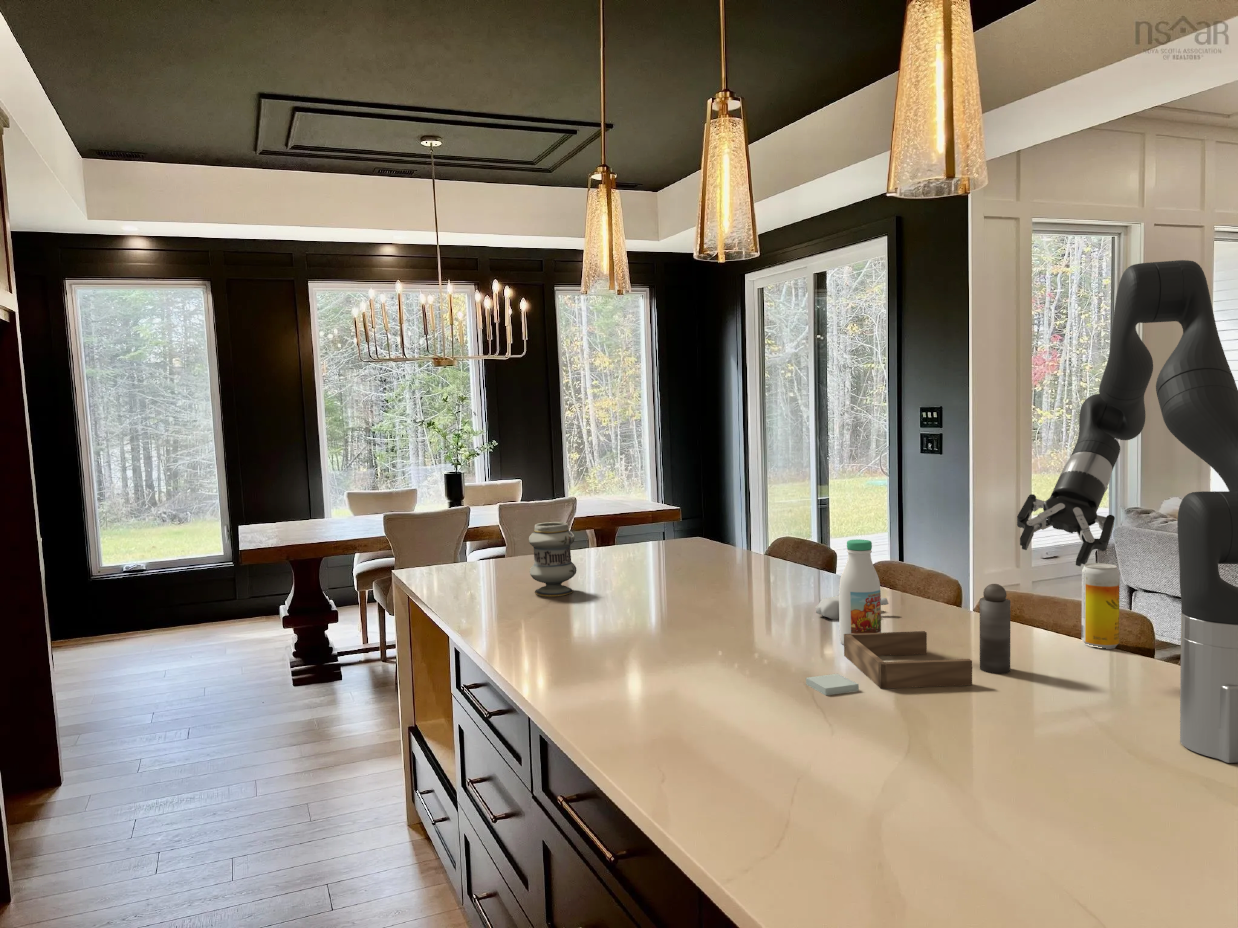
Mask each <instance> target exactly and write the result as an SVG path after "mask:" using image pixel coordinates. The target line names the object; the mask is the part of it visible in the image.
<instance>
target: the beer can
mask: <svg viewBox="0 0 1238 928" xmlns="http://www.w3.org/2000/svg"><path fill="white" fill-rule="evenodd" d="M1083 565H1084V564H1083ZM1120 575H1121V574H1120V571H1119V569H1118V566H1117V565H1115V564H1110V563H1101V562H1100V563H1098V562H1090V563H1088V562H1087V563H1086V564H1085V565H1084V566H1083V568H1082V569H1081V641H1082V642H1083V643H1084V645H1085V644H1089V645H1093V646H1098V647H1102V648H1106V649H1105V650H1112V649H1115V648H1116V647H1117V646H1118V645H1119V644H1120V583H1121V582H1120Z"/></svg>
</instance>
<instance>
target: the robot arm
mask: <svg viewBox="0 0 1238 928" xmlns="http://www.w3.org/2000/svg"><path fill="white" fill-rule="evenodd" d="M1114 303H1115V305H1114V310H1113V320H1112V325H1111V335H1110V347H1109V352H1108V353H1109V354H1108V358H1107V362H1106V365H1105V369H1104V371H1103V375H1102V377H1101V381H1100V383H1099V388H1098V393H1095V394H1092V395H1090V396H1088V397H1087V398H1086V399H1084V401H1083V403H1082V404H1081V406H1080V409H1079V417H1078V419H1079V420H1078V421H1079V422H1078V425H1079V428H1078V436H1077V441H1076V443H1075V445H1074V447H1073V450H1072V451H1071V454H1070V457H1069V458H1068V460H1067V462H1065V464H1064V466H1063V468H1062V471H1061V473H1060V475H1059V477H1058V480H1057V481H1056V483H1055V486H1054V488H1053V490H1052V491H1051V495H1050V496H1049V498H1048V499H1046V500H1042V499H1039V498H1037V496H1036V495H1035V494H1033V493H1031V494H1029V495H1028V496H1027V498H1026V500H1025V502H1024V504H1023V506H1022V507H1021V508H1020V511H1019V512H1018V514H1017V516H1016V525H1017V526H1016V527H1018V528H1022V529H1023V531H1022V533H1021V534H1020V537H1019V545H1020V546H1021V549H1022V550H1025V551H1027V550H1028V548H1029V546H1030V543H1031V541H1032V539H1033V537H1034V533H1037V532H1038V531H1040V530H1042V531H1044V530H1046V529H1048V528H1050V527H1052V528H1053V529H1055V530H1059V531H1060V530H1061V531H1063V532H1064V531H1065V532H1066V533H1070V534H1074V533H1076V534H1077V536H1078V537H1079V539H1080V541H1081V542H1082V544H1081V547H1080V549H1079V552H1078V554H1077V556H1076V559H1075V566H1077V567H1081V566H1082V565H1085V564H1088V561H1089V559H1090V556H1091V554H1092V551H1094V550H1099V551H1101V552H1105V551H1107V549H1108V545H1109V543H1110V540H1111V536H1112V533H1113V530H1114V526H1115V520H1116V518H1115V516H1114V515H1113V514H1108V515H1106V516H1103V515H1099V514H1098V513H1097V511H1098V509H1099V508H1100V505H1101V502H1102V500H1103V498H1104V495H1105V494H1106V492H1107V489H1108V488H1109V483H1110V480H1111V476H1112V473H1113V470H1114V468H1115V465H1116V462H1117V461H1118V458H1119V455H1120V453H1121V446H1120V443H1119V441H1118V440H1120V441H1131V440H1133V439H1135V438H1137V437H1138V436H1139V435H1140V434H1141V433H1142V431H1143V429H1144V426H1145V424H1146V406H1145V394H1146V391H1147V388H1148V386H1149V383H1150V381H1151V378H1152V375H1153V372H1154V361H1153V360H1154V359H1153V357H1152V354H1151V352H1150V350H1149V349H1148V347H1147V346H1146V345H1145V343H1144V341H1143V340H1142V339H1141V337H1140V335H1139V333H1138V331H1137V325H1138V324H1139V323H1140V324H1149V323H1150V324H1152V323H1168V322H1169V323H1170V322H1177V323H1179V324H1180V325H1181V329H1182V335H1181V337H1180V340H1179V341H1178V343H1177V345H1176V347H1175V348H1174V349H1173V351H1172V353H1171V354H1170V355H1169V357H1168V358H1167V360H1166V361H1165V362H1164V364H1163V366H1162V368H1161V370H1160V371H1159V373H1158V375H1157V378H1156V382H1155V391H1156V396H1157V400H1158V404H1159V408H1160V409H1159V410H1160V412H1161V416H1162V419H1163V422H1164V424H1165V427H1166V428H1167V429H1168V430H1169V433H1171V435H1173V436H1174V437H1175V438H1176V439H1177V441H1179V442H1180V443H1181V444H1182V445H1183V446H1184V447H1186V448H1187V449H1188V450H1190V451H1191V452H1192V453H1193V454H1194V455H1196V456H1197V457H1199V458H1200V459H1202V460H1203V462H1205V463H1206V465H1208V466H1209V467H1211V468H1212V470H1214V471H1215V473H1216V474H1218V476H1219V477H1220V478H1221V479H1222V481H1223V483H1224V484H1225V486H1226V488H1227V489H1228V491H1223V490H1221V491H1213V490H1212V491H1209V490H1208V491H1191V492H1189V493H1187V494H1186V495H1184V497H1183V498H1182V499H1181V502H1180V504H1179V507H1178V510H1177V511H1178V512H1177V521H1176V522H1177V543H1178V558H1179V560H1178V563H1179V565H1178V566H1179V589H1180V590H1179V592H1180V599H1181V600H1180V601H1181V605H1180V606H1181V607H1180V608H1181V609H1180V610H1181V612H1180V613H1181V614H1180V627H1181V628H1180V669H1179V670H1180V683H1179V685H1180V687H1179V688H1180V689H1179V691H1180V692H1179V695H1180V696H1179V715H1180V716H1179V742H1180V743H1181V745H1182V746H1183V747H1185V748H1186V749H1188V750H1189V751H1192V752H1193V753H1197V754H1199V755H1202V756H1206V757H1209V758H1213V759H1217V760H1220V761H1223V762H1224V763H1229V764H1230V763H1231V764H1233V763H1238V586H1235V585H1234V584H1232V583H1229V582H1228V581H1225V580H1224V579H1223V578H1222V577H1221V575H1220V570H1219V565H1238V387H1237V383H1236V380H1235V377H1234V375H1233V372H1232V370H1231V368H1230V365H1229V362H1228V360H1227V357H1226V354H1225V351H1224V347H1223V345H1222V341H1221V339H1220V336H1219V332H1218V331H1219V330H1218V328H1217V324H1216V320H1215V314H1214V310H1213V309H1214V308H1213V303H1212V298H1211V295H1210V289H1209V285H1208V281H1207V277H1206V275H1205V272H1204V270H1203V268H1202V267H1201V265H1200V264H1198V262H1196V261H1193V260H1188V259H1187V260H1186V259H1185V260H1184V259H1180V260H1167V261H1155V262H1152V261H1151V262H1141V263H1135V264H1131V265H1129V266H1128V267H1127V268H1126V269H1125V270H1124V271H1123V273H1122V274H1121V277H1120V280H1119V283H1118V285H1117V292H1116V295H1115V302H1114ZM1039 509H1042V510H1043V511H1042V512H1040V513H1038V514H1037V516H1035V517H1033V518H1031V519H1029V518H1030V516H1031V515H1032V513H1033V512H1037V511H1038V510H1039ZM1096 523H1097V524H1098V528H1099V529H1100V530H1101V534H1100V537H1099V538H1096V537H1094V535H1093V534H1092V531H1091V528H1090V527H1091V526H1093V525H1094V524H1096Z"/></svg>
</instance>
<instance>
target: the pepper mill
mask: <svg viewBox="0 0 1238 928" xmlns="http://www.w3.org/2000/svg"><path fill="white" fill-rule="evenodd" d="M979 670H980V671H982V672H985V673H989V674H996V675H997V674H998V675H1004V674H1005V675H1006V674H1009V673H1011V600H1010V599H1008V598H1007V591H1006V589H1005V588H1004V587H1003V586H1002V585H1001V584H998V583H991V584H988V585H986V586H985V587H984V589H983V597H981V598H979Z"/></svg>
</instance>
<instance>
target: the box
mask: <svg viewBox="0 0 1238 928" xmlns="http://www.w3.org/2000/svg"><path fill="white" fill-rule="evenodd" d="M927 636H928V633H927V632H926V631H925V630H919V631H916V630H915V631H889V632H881V633H858V634H844V645H843V655H844V657H845V658H846V659H847V660H849V662H851V663H852V664H853V665H854V666H855V667H856V668H857V669H859V671H861V672H862V673H863V674H864V675H865V676H866V677H868V679H869V680H871V681H872V682H873V683H874V684H875V685H876V686H877V687H878V688H879V689H900V688H901V689H902V688H903V689H904V688H905V689H906V688H927V687H930V688H932V687H951V686H953V687H954V686H956V687H957V686H973V660H972V659H970V658H960V659H958V658H957V659H956V658H955V659H934V660H933V659H931V660H907V661H905V660H904V661H903V660H900V661H885V660H883V659H881V658H880V656H881V657H884V656H885V657H887V656H907V655H908V656H909V655H914V656H915V655H927V653H928V652H927V651H928V649H927V647H928V645H927V644H928V642H927V640H928V637H927Z"/></svg>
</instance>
